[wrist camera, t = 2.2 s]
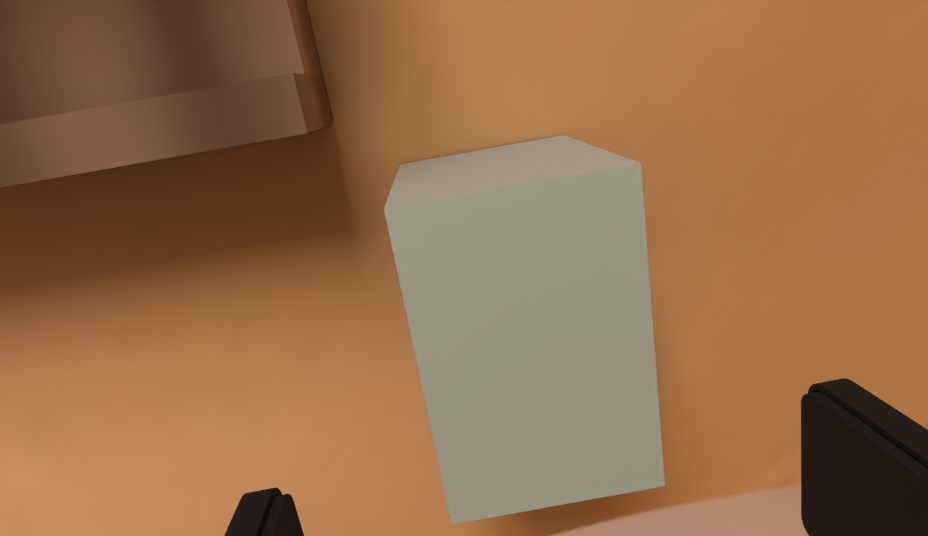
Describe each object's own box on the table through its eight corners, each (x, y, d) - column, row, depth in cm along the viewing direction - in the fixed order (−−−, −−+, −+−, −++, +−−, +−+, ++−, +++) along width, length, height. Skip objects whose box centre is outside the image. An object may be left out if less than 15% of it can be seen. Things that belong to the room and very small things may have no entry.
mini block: (564, 135, 21) (640, 163, 13) (589, 364, 24) (665, 495, 16) (400, 164, 21) (383, 208, 13) (445, 389, 24) (453, 533, 16)
